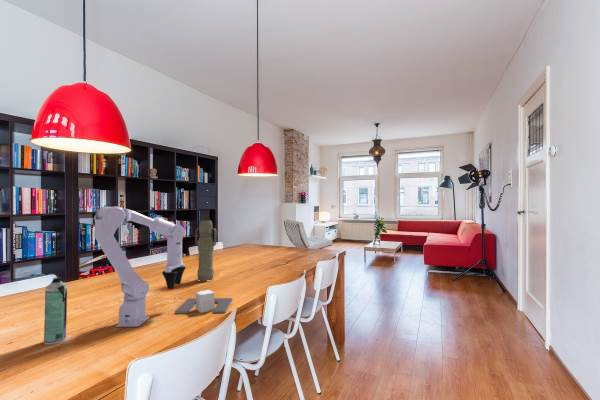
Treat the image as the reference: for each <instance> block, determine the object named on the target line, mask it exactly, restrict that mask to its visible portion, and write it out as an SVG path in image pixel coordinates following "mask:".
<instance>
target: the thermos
mask: <svg viewBox="0 0 600 400" xmlns="http://www.w3.org/2000/svg"><path fill="white" fill-rule="evenodd" d="M213 233H214V237H213ZM198 234H199V236H198ZM194 237H195V238H194V239H195V242H194V243H195V246H196V247H197V251H198V269H197V281H198V280H200V281H207V280H212V279H213V280H214V268H213V265H214V264H213V263H214V261H213V259H214V256H213V255H214V248H215V246H216V245H217V229H216V227H215V228H214V226H213V222H212V220H211V219H202V220H201V221H199V225H198V228H196V229H195V236H194ZM213 280H212V281H213Z"/></svg>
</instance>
